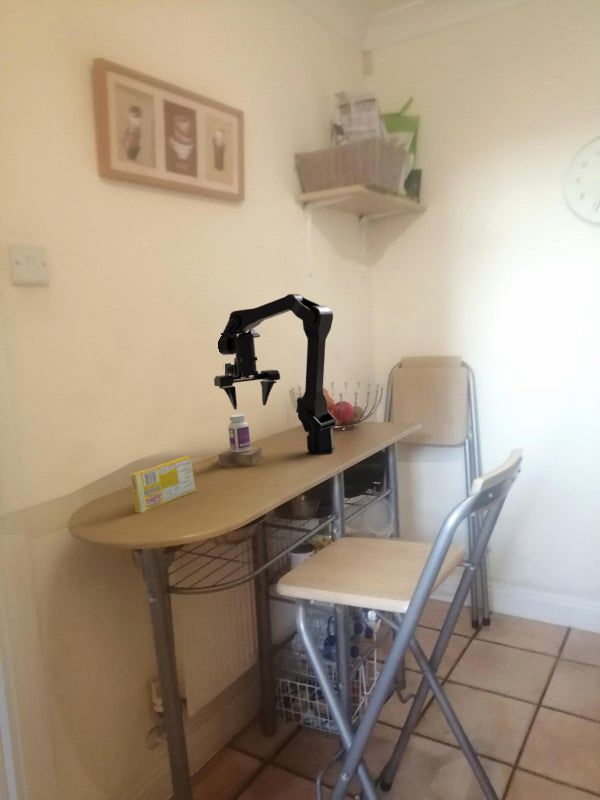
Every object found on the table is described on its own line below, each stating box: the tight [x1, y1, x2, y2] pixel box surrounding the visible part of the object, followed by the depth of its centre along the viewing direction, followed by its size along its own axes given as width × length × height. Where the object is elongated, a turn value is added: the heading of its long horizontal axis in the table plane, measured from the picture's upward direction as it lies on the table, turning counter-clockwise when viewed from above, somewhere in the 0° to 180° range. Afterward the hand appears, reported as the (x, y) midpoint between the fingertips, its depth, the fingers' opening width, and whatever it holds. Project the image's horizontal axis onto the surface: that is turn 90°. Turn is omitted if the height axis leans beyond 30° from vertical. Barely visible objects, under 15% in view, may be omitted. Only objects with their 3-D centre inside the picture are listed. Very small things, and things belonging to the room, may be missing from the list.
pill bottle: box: [227, 413, 252, 453], centre depth 163 cm, size 5×5×10 cm
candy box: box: [129, 455, 197, 514], centre depth 132 cm, size 16×2×8 cm, turn 146°
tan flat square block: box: [218, 446, 263, 468], centre depth 164 cm, size 9×9×3 cm
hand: (250, 407), depth 180 cm, fingers open, 9 cm apart
